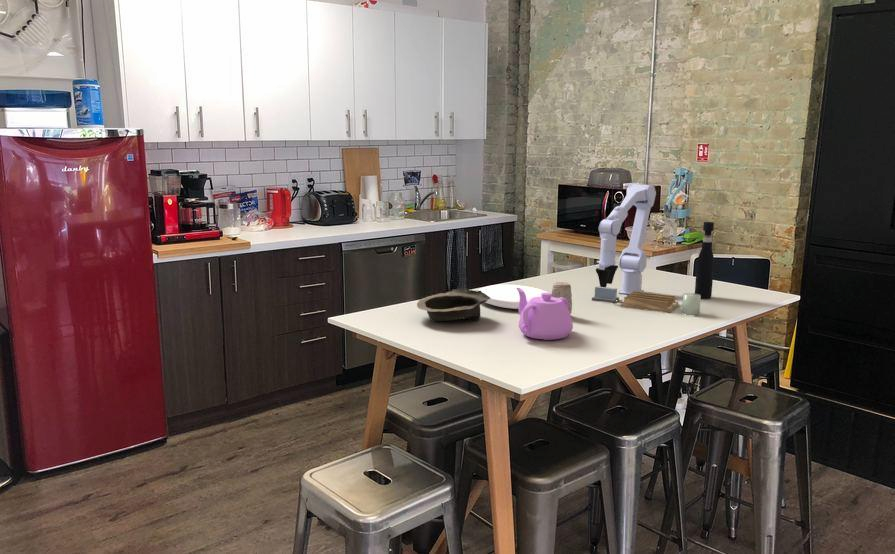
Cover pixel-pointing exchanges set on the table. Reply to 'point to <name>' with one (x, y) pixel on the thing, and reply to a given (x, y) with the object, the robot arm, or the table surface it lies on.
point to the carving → (563, 292)
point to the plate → (509, 295)
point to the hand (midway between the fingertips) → (606, 285)
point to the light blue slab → (606, 292)
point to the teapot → (544, 317)
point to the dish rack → (650, 301)
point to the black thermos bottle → (705, 264)
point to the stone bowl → (454, 305)
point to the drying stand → (605, 299)
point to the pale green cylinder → (691, 304)
